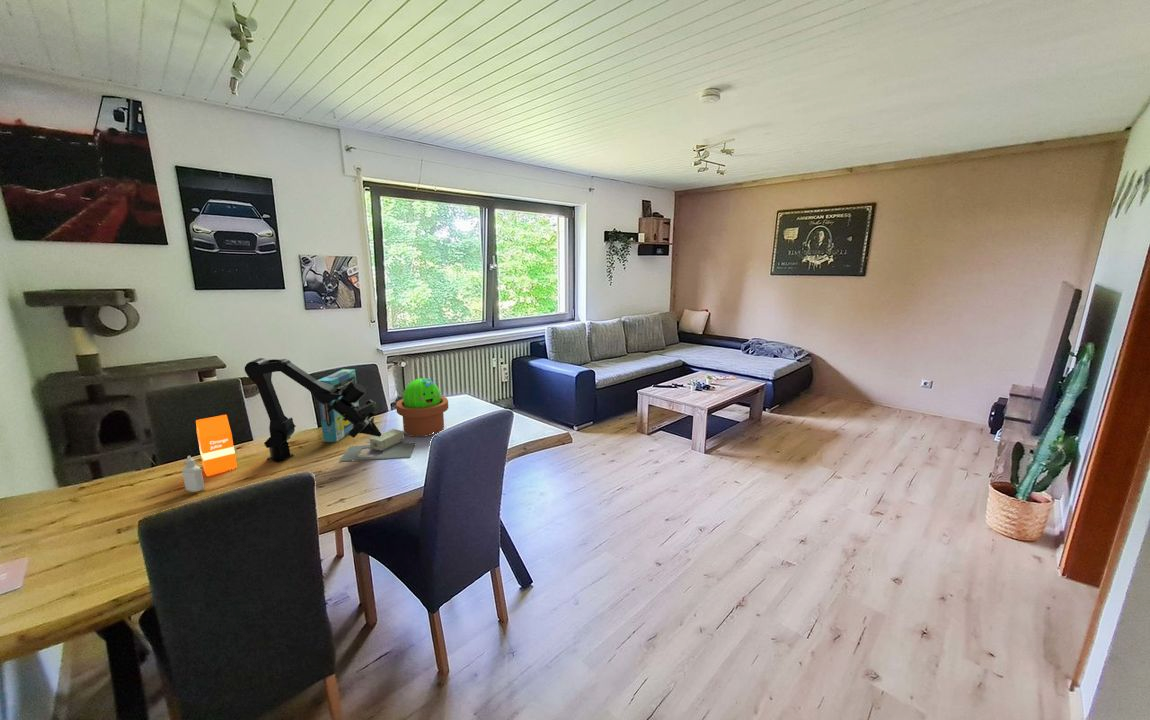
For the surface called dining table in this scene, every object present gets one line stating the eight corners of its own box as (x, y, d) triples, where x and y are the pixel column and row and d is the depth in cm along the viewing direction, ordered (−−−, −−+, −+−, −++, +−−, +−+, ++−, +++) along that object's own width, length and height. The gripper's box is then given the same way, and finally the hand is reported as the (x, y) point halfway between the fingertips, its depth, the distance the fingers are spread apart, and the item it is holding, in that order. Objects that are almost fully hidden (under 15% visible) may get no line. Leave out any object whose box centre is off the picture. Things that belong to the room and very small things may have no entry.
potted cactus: (391, 428, 199) (386, 376, 194) (436, 418, 214) (433, 369, 209) (410, 443, 184) (406, 386, 178) (457, 430, 198) (455, 378, 193)
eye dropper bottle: (188, 495, 141) (181, 460, 138) (185, 489, 144) (178, 455, 142) (205, 490, 144) (199, 456, 141) (202, 484, 148) (195, 451, 145)
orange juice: (237, 468, 159) (229, 416, 155) (206, 476, 153) (196, 423, 149) (233, 461, 164) (224, 411, 160) (203, 469, 158) (193, 417, 154)
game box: (337, 442, 183) (330, 380, 178) (322, 442, 183) (315, 380, 178) (361, 425, 203) (356, 369, 197) (348, 424, 203) (342, 368, 198)
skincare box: (381, 451, 175) (404, 440, 185) (380, 441, 174) (403, 431, 184) (369, 448, 177) (393, 438, 188) (369, 438, 176) (393, 428, 187)
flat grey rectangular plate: (338, 462, 166) (338, 461, 165) (350, 447, 179) (350, 446, 179) (410, 457, 170) (410, 456, 170) (416, 443, 184) (416, 442, 184)
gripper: (355, 403, 160) (389, 430, 164) (369, 389, 178) (399, 413, 182) (334, 424, 160) (369, 450, 164) (350, 408, 178) (380, 432, 182)
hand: (380, 435), depth 173 cm, fingers closed
